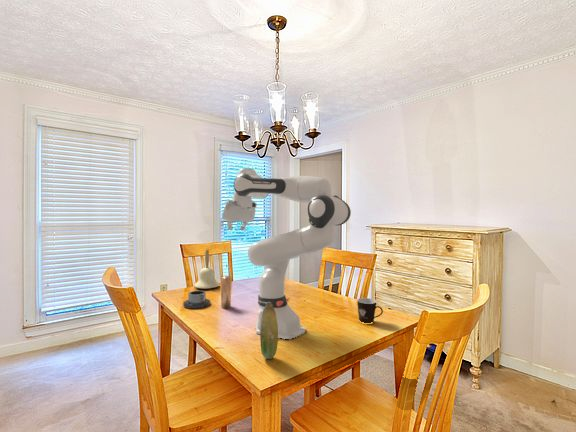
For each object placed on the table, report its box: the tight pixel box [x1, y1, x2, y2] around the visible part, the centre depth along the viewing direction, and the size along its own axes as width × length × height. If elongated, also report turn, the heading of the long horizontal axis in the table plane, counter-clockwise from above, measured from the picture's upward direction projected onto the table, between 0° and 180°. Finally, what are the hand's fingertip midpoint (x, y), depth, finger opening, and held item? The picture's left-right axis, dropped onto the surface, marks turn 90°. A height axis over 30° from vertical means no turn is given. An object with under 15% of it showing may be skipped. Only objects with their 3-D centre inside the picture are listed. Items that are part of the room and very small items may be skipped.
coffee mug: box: [356, 297, 384, 323], centre depth 144 cm, size 12×9×10 cm
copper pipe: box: [220, 275, 232, 310], centre depth 164 cm, size 5×5×16 cm
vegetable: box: [259, 302, 279, 360], centre depth 109 cm, size 6×6×20 cm
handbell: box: [194, 248, 220, 289], centre depth 203 cm, size 15×15×25 cm
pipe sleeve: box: [182, 290, 211, 310], centre depth 168 cm, size 14×14×6 cm
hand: (236, 230), depth 151 cm, fingers open, 8 cm apart
